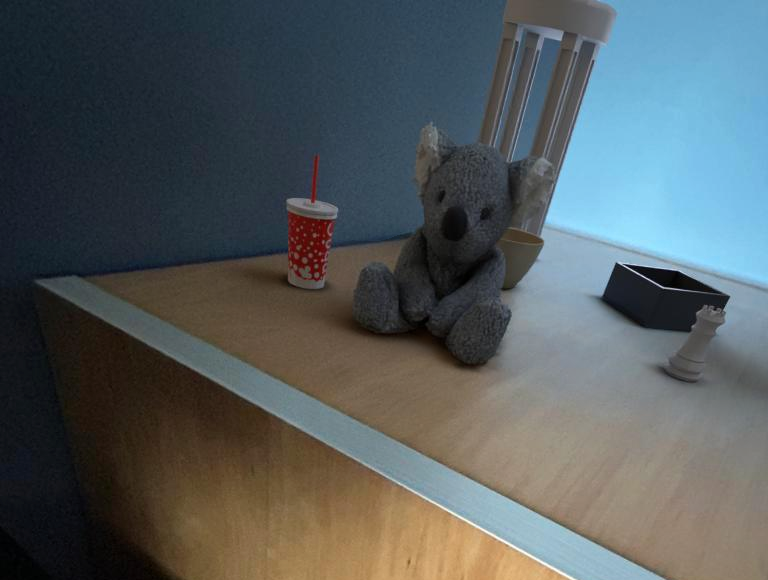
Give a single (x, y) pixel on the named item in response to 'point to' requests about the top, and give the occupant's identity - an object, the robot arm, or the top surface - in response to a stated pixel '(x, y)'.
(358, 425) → the top surface
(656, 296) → the bin
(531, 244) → the flower pot
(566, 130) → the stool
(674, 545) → the top surface
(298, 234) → the beverage cup
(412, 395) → the top surface
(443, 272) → the koala plush
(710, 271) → the top surface
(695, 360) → the rook chess piece
